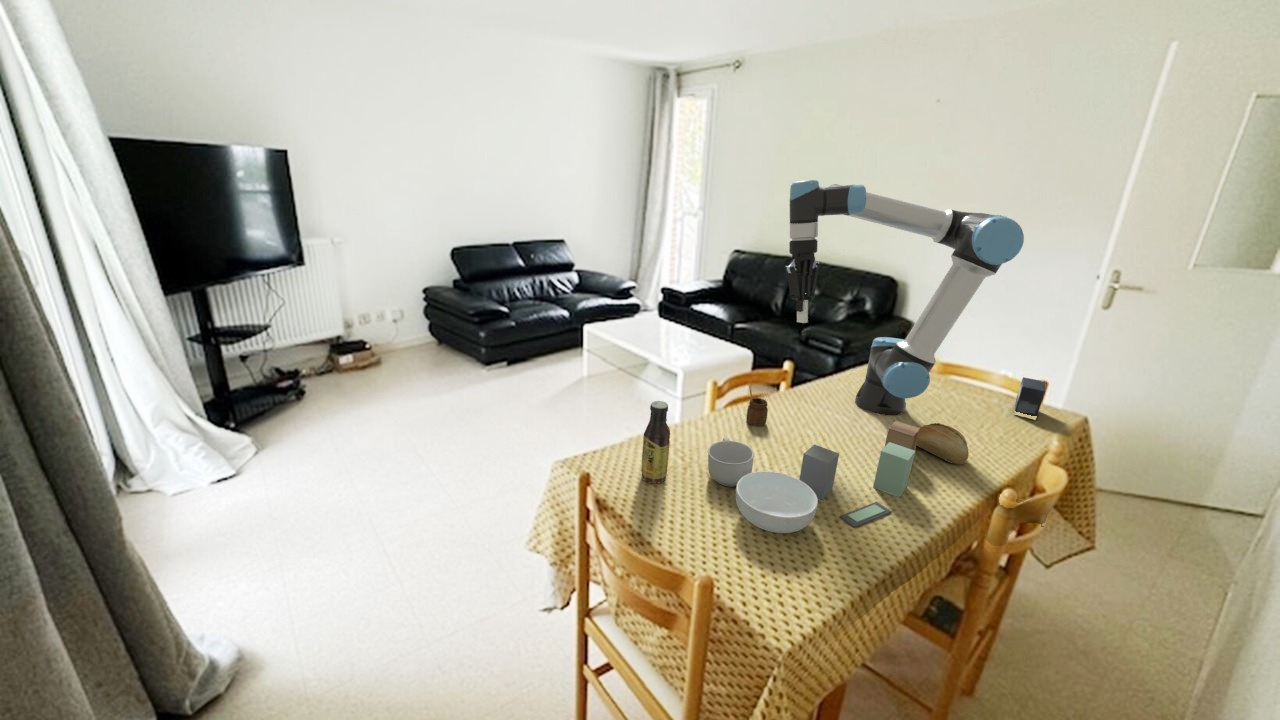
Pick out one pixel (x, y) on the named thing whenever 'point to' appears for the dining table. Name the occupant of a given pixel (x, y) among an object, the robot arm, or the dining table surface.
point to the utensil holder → (757, 410)
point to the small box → (1030, 396)
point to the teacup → (729, 461)
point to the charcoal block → (819, 470)
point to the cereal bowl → (776, 501)
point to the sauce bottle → (656, 444)
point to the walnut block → (902, 435)
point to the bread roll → (943, 442)
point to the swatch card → (865, 514)
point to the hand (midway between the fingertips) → (802, 322)
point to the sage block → (894, 469)
